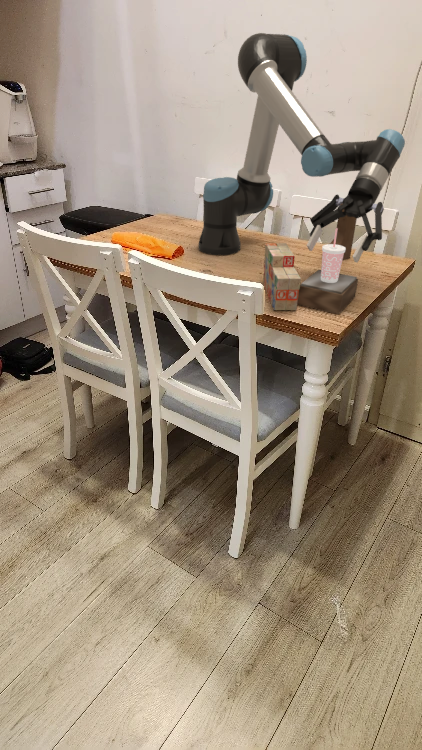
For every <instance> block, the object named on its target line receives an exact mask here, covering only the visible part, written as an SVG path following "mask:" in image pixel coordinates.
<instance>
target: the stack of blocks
mask: <svg viewBox="0 0 422 750" xmlns="http://www.w3.org/2000/svg"><path fill="white" fill-rule="evenodd" d="M295 258H296V257H295V254H294V253H293V252H292V250H291V249H290V247H289V245H288V243H287V242H277V243H275V242H274V243H273V242H271V243H270V242H269V243H267V242H266V243H265V245H264V260H263V263H264V264H263V274H262V275H263V276H262V277H263V278H262V283H264V284H263V286H265V287H264V289H265V292H266V294H267V293H268V294H267V296H268V298H269V301H270V304H271V306H272V309H273V308H274V309H273V311H274V310H296V311H297V308H298V305H297V300H298V294H299V289H300V285H301V281H302V280H301V278H302V277H300V275H299V273H298V271H297V270H296V268H295V267H294V266H295Z"/></svg>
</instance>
